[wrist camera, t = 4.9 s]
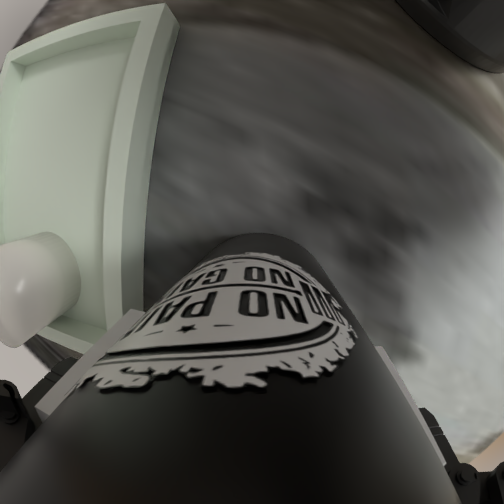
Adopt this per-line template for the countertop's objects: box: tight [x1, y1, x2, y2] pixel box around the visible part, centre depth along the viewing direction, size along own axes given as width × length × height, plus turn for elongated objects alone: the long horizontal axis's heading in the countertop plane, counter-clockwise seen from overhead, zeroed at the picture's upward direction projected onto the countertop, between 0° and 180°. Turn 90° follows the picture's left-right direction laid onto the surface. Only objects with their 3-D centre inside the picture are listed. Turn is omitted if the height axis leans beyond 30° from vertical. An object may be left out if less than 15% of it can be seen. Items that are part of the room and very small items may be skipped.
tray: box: [0, 3, 180, 354], centre depth 14 cm, size 22×15×3 cm
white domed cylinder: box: [0, 232, 81, 348], centre depth 14 cm, size 6×6×6 cm
